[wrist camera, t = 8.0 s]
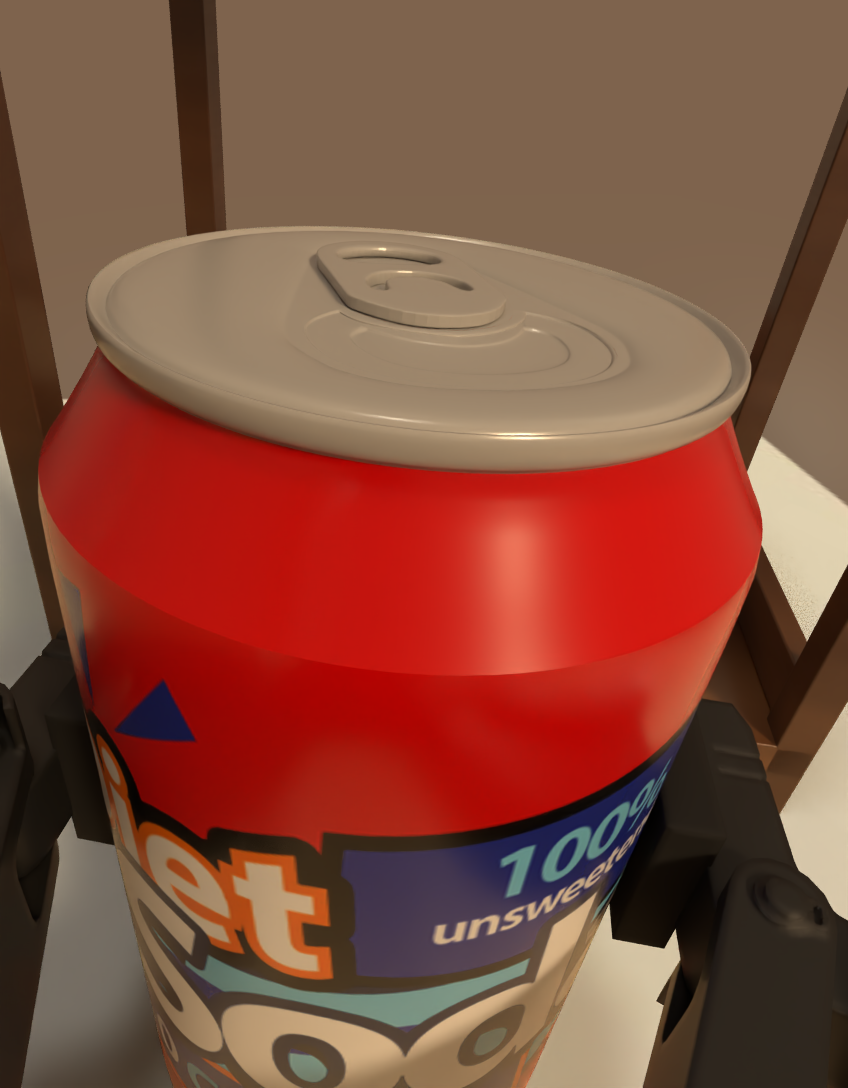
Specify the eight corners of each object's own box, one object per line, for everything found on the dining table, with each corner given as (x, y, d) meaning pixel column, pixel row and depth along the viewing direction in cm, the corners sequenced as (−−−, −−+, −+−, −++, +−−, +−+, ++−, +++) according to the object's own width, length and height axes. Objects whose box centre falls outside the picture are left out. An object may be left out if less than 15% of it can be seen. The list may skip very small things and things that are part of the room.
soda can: (460, 803, 20) (584, 221, 12) (600, 1142, 14) (1064, 443, 6) (160, 867, 18) (42, 192, 9) (171, 1312, 12) (-144, 528, 3)
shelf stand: (779, 815, 23) (1961, -1126, 7) (63, 690, 25) (-404, -1199, 8) (699, 567, 35) (1062, -371, 18) (215, 491, 36) (152, -450, 20)
